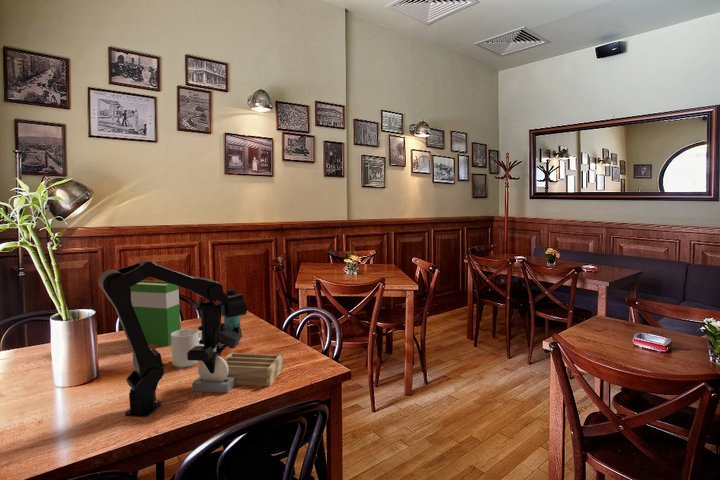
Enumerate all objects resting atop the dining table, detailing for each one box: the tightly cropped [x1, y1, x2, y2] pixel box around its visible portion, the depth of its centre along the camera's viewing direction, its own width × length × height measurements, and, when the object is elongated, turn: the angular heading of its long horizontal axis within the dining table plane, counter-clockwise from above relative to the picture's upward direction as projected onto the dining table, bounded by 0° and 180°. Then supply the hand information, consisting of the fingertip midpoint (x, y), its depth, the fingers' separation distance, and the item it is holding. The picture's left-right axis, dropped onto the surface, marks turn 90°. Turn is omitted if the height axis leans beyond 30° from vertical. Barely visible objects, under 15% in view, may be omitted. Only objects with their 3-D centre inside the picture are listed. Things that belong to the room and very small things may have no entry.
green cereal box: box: [130, 279, 182, 347], centre depth 165 cm, size 18×7×24 cm, turn 77°
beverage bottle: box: [223, 288, 241, 330], centre depth 169 cm, size 6×7×20 cm
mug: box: [170, 328, 204, 369], centre depth 144 cm, size 12×9×11 cm
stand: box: [191, 376, 236, 394], centre depth 124 cm, size 5×11×2 cm, turn 84°
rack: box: [223, 350, 285, 387], centre depth 133 cm, size 14×18×5 cm
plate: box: [197, 355, 229, 382], centre depth 123 cm, size 1×9×9 cm, turn 83°
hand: (213, 372), depth 123 cm, fingers closed on plate, 1 cm apart
